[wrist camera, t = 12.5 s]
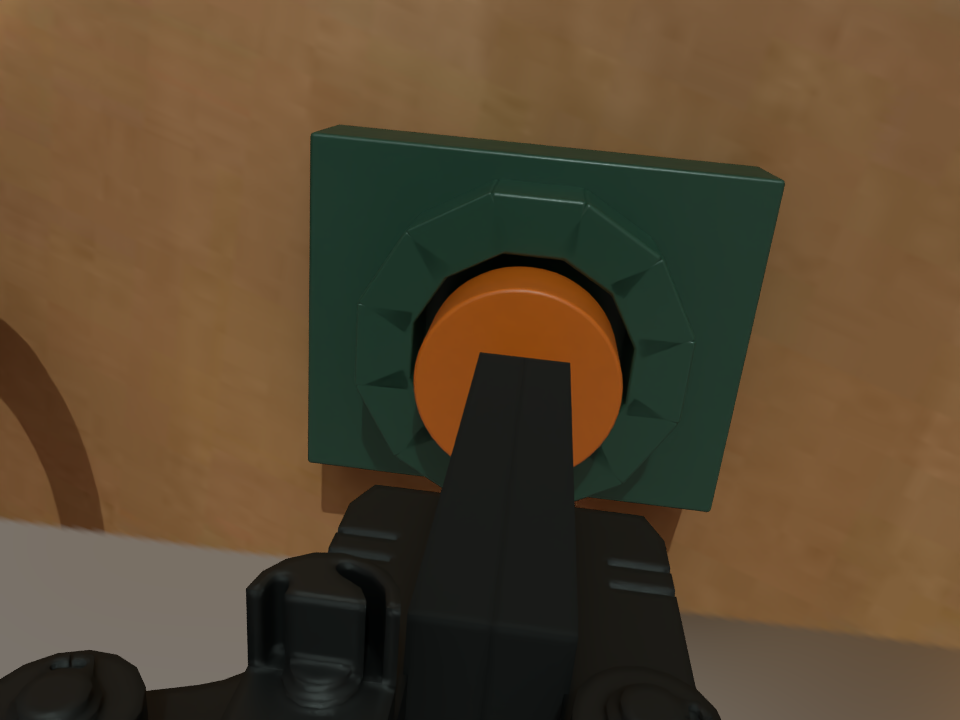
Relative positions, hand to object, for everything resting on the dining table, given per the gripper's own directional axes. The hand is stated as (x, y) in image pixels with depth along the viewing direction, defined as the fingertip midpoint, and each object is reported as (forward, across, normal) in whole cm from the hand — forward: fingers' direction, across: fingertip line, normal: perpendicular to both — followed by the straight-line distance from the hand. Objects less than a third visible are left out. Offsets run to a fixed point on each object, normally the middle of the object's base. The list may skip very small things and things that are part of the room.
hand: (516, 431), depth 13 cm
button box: (+7, 0, 0) cm, 7 cm away
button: (+4, 0, 0) cm, 4 cm away
